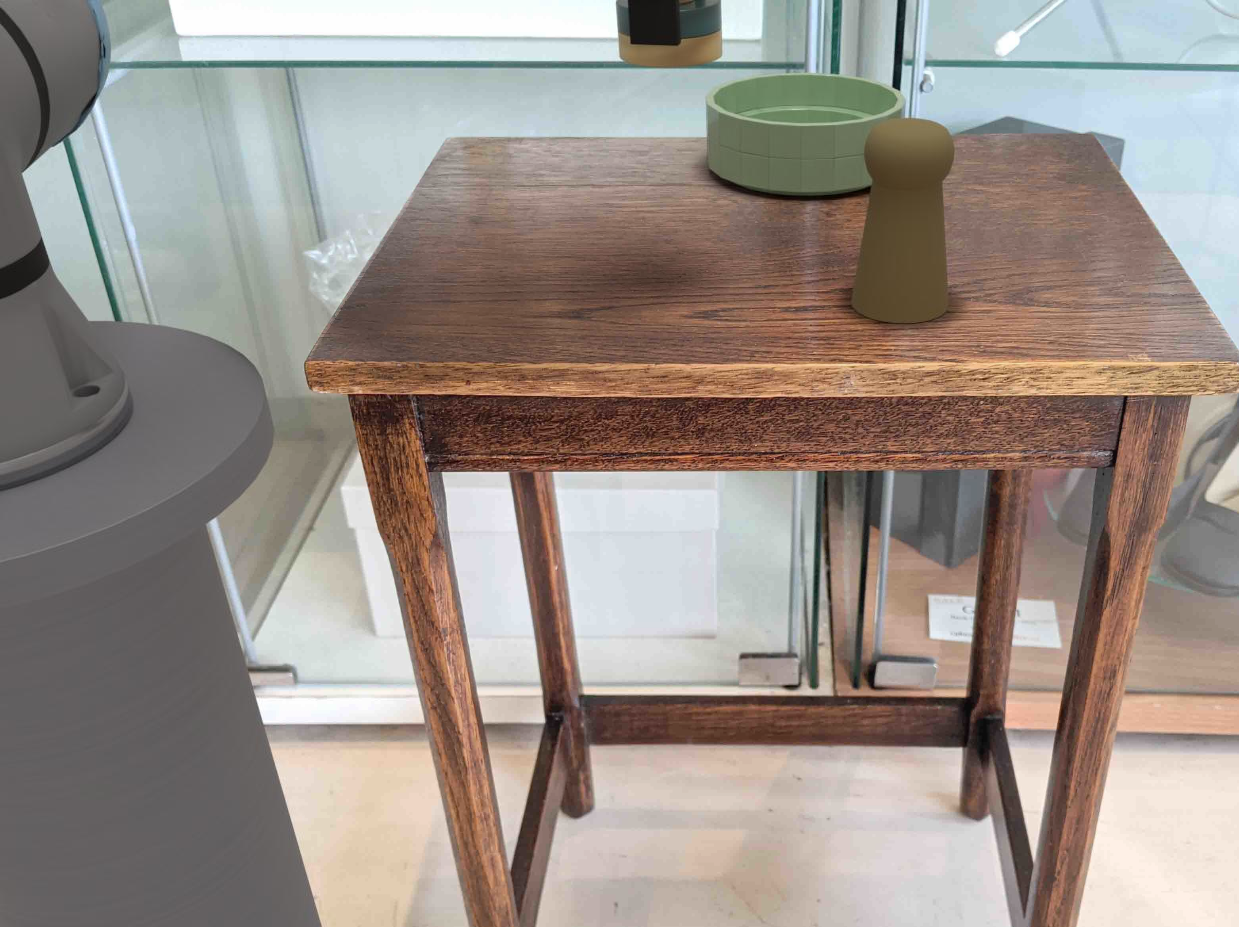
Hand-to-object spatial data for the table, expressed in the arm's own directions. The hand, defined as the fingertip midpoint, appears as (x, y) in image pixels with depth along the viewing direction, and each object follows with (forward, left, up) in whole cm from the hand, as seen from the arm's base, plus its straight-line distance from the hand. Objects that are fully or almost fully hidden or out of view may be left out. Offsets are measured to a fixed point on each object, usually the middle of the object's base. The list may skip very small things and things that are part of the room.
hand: (669, 29), depth 75 cm
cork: (+8, -12, -15) cm, 21 cm away
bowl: (+22, +12, -15) cm, 29 cm away
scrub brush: (0, 0, -1) cm, 1 cm away
